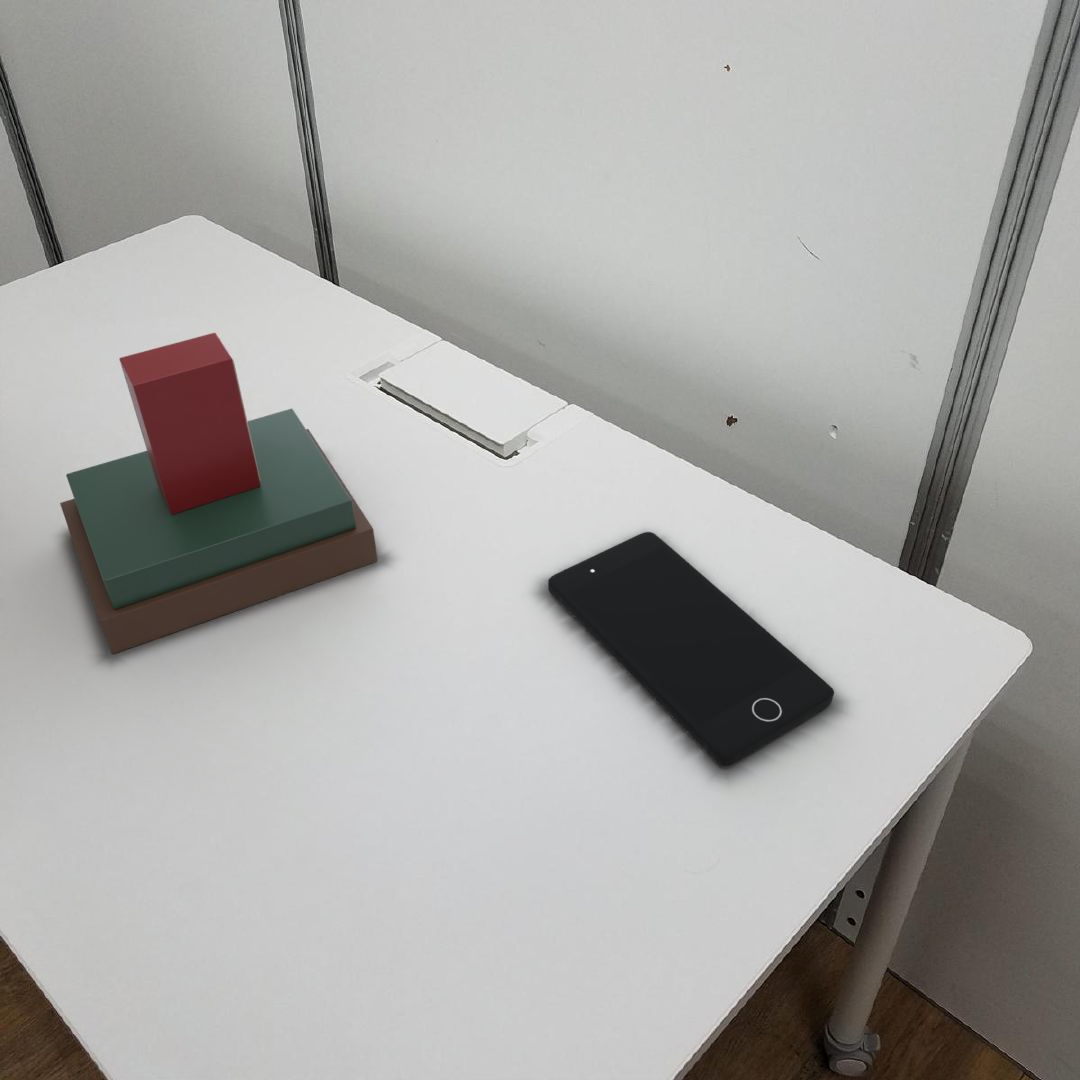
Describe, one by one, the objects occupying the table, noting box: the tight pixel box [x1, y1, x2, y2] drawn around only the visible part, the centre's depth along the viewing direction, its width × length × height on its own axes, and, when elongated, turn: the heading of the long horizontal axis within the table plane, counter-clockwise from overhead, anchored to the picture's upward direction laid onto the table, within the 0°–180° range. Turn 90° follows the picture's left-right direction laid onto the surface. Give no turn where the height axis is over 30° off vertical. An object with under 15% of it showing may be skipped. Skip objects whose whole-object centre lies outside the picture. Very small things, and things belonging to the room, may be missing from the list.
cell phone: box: [547, 531, 835, 767], centre depth 70 cm, size 9×18×1 cm, turn 34°
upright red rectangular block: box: [119, 332, 261, 515], centre depth 71 cm, size 6×4×10 cm, turn 119°
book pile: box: [60, 408, 379, 655], centre depth 76 cm, size 18×13×6 cm
